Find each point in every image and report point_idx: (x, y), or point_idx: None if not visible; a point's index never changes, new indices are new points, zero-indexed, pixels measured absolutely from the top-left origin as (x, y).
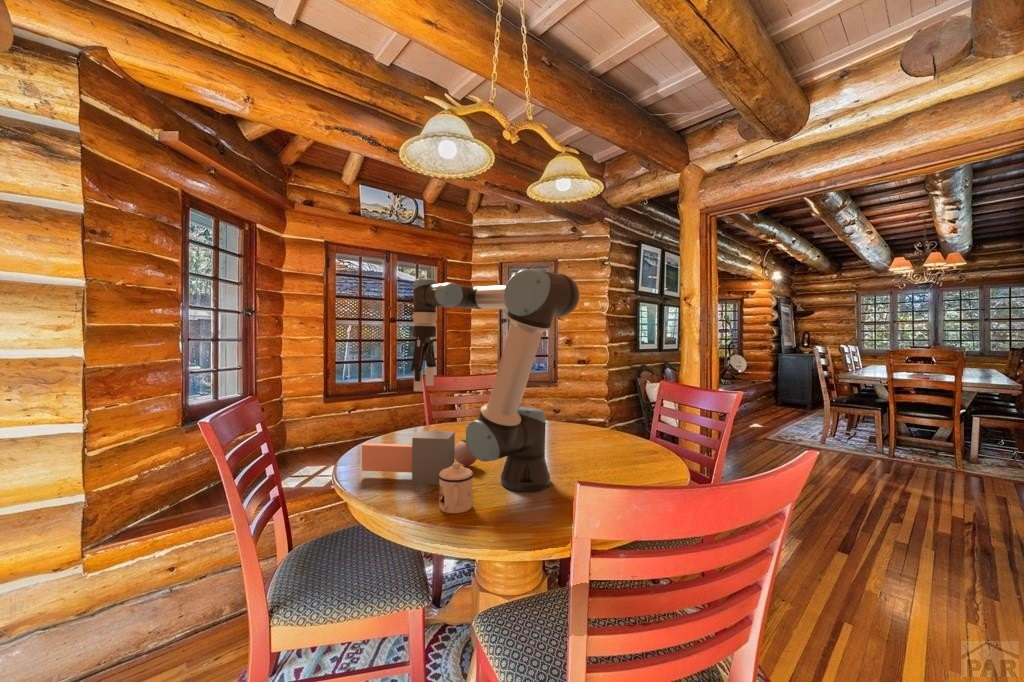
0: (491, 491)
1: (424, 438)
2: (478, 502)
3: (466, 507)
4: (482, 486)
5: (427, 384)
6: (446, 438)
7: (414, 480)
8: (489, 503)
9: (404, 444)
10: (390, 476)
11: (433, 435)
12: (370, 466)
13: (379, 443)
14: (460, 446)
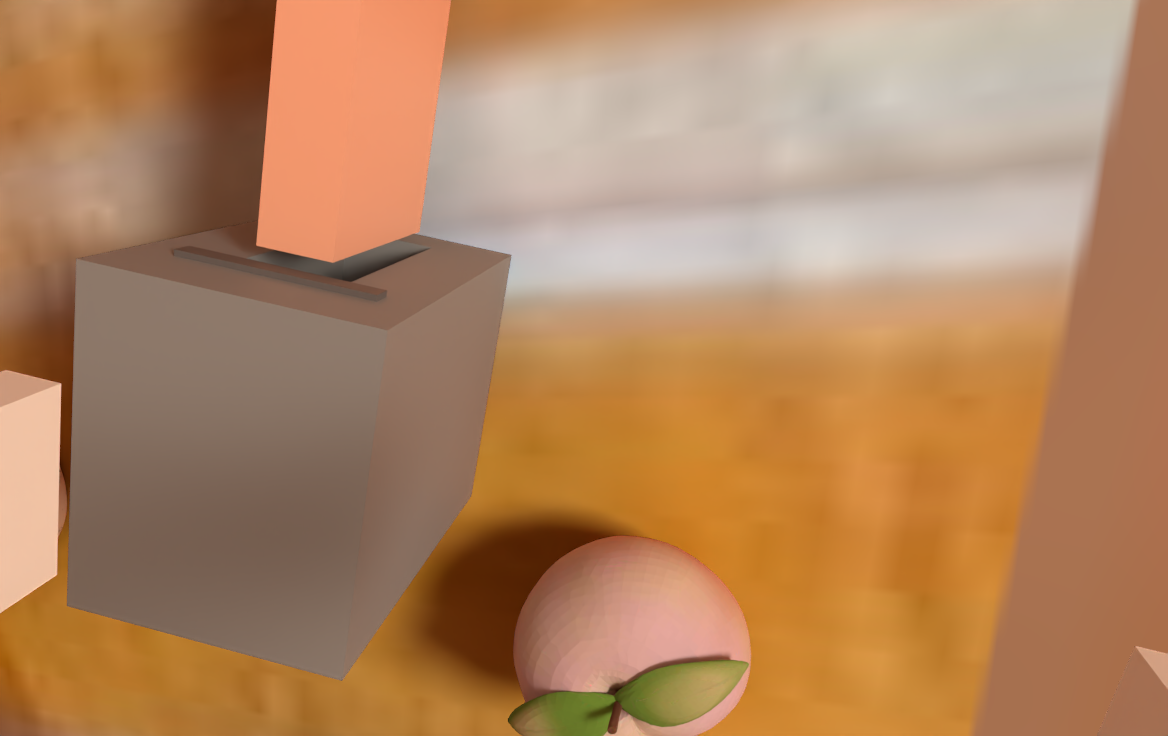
0: (198, 680)
1: (74, 384)
2: (54, 596)
3: None
4: None
5: (1131, 721)
6: (81, 590)
7: None
8: (47, 646)
9: (339, 138)
10: (463, 16)
11: (180, 472)
12: None
13: None
14: (547, 637)
